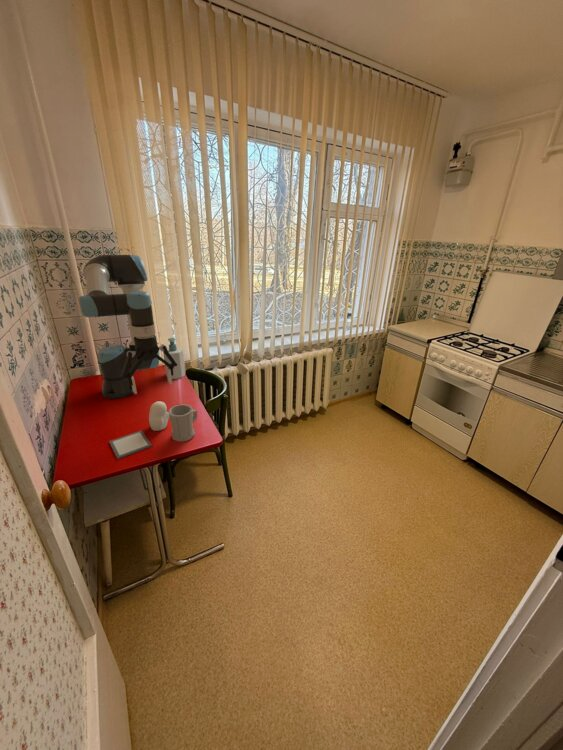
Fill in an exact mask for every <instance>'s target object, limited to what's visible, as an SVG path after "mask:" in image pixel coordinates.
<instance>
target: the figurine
mask: <svg viewBox="0 0 563 750" xmlns="http://www.w3.org/2000/svg"><path fill="white" fill-rule="evenodd" d="M167 410H168V407H167V405H166V403H165V402H164V401H155V402H153V403H152V404H151V406H150V409H149V414H148V422H149V426H150V428H151V430H153V431H155V432H156V431H157V432H159V431H162V430H164V429H166V427H167V425H168V422H169V420H170V416H169V411H167Z"/></svg>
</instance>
